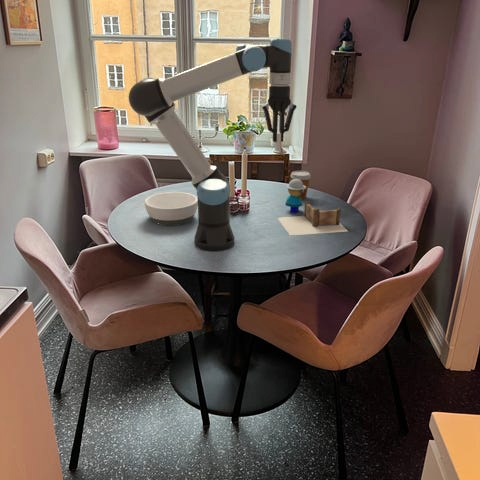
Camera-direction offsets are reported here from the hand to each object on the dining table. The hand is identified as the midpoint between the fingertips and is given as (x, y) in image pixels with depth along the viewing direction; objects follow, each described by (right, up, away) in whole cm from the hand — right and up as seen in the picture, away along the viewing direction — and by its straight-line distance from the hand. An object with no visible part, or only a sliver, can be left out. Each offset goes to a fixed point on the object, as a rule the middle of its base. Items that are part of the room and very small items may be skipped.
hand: (277, 150), depth 183 cm
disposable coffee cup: (+15, -14, +51) cm, 55 cm away
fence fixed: (+21, -28, +16) cm, 39 cm away
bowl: (-43, -25, +25) cm, 56 cm away
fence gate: (+15, -25, +21) cm, 36 cm away
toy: (+10, -22, +32) cm, 40 cm away
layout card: (+15, -28, +17) cm, 36 cm away
